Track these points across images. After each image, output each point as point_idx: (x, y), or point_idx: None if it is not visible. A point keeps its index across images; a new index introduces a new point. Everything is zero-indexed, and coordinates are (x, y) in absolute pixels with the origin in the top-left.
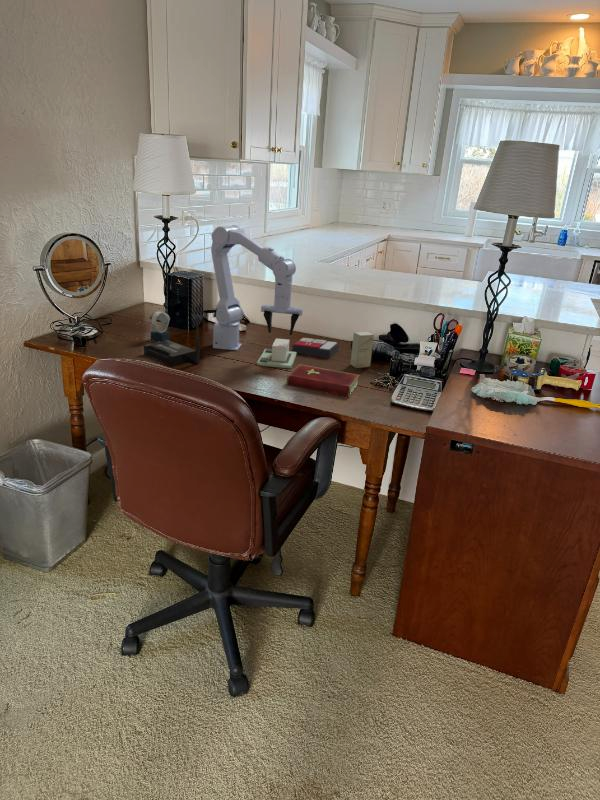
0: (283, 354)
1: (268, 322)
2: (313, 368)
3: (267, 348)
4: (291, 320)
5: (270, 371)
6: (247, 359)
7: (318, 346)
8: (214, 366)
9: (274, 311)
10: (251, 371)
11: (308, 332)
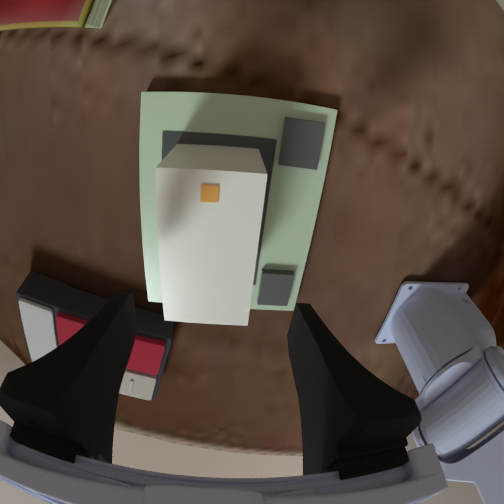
0: (183, 153)
1: (341, 362)
2: (22, 4)
3: (283, 305)
4: (69, 377)
5: (255, 24)
6: (375, 186)
7: (59, 323)
8: (488, 90)
9: (296, 487)
10: (354, 17)
11: (168, 440)
